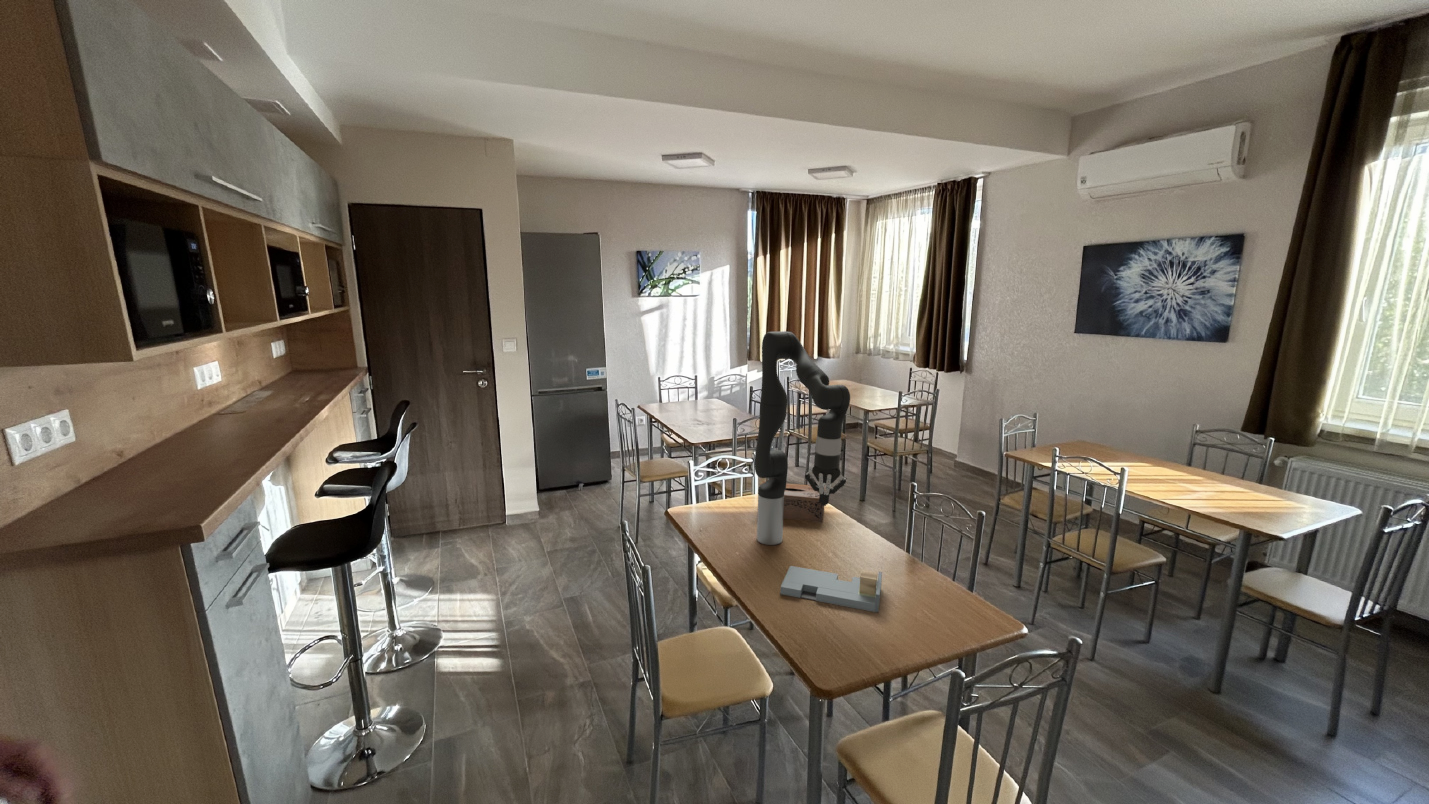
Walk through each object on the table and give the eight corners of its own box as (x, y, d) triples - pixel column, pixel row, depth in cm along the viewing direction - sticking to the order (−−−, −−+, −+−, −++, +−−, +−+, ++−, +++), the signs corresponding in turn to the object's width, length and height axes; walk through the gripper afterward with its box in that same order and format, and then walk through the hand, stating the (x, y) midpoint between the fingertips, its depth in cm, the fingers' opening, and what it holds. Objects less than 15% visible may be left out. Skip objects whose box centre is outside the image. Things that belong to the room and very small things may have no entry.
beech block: (860, 585, 168) (861, 570, 167) (876, 588, 167) (877, 572, 166) (859, 592, 164) (860, 576, 163) (875, 595, 163) (876, 579, 162)
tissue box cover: (757, 516, 226) (758, 492, 224) (762, 503, 240) (763, 481, 238) (822, 523, 221) (824, 498, 219) (824, 509, 234) (825, 486, 233)
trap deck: (790, 572, 180) (790, 556, 179) (880, 588, 171) (882, 572, 170) (780, 594, 167) (780, 577, 166) (878, 612, 158) (879, 594, 157)
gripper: (851, 450, 170) (846, 503, 174) (808, 444, 174) (804, 497, 178) (849, 457, 163) (844, 513, 167) (803, 451, 167) (799, 505, 171)
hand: (823, 504), depth 172 cm, fingers closed
